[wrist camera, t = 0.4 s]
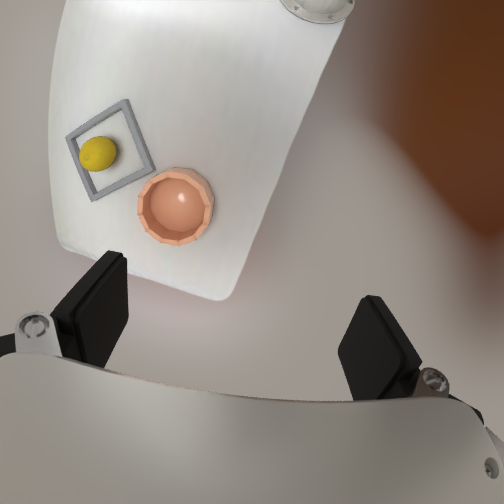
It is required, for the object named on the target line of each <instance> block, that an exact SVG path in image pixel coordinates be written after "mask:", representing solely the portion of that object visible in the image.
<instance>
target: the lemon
mask: <svg viewBox="0 0 504 504" xmlns="http://www.w3.org/2000/svg"><path fill="white" fill-rule="evenodd" d="M115 156H116V147H115V145H114V143H113V142H112V141H111V140H110V139H109V138H106V137H102V136H98V137H94V138H91V139H89V140H88V141H87V142H85V143H84V144H83V146H82V147H81V150H80V153H79V160H80V163H81V165H82V166H83V167H84V168H85V169H86V170H88V171H92V172H98V171H102V170H104V169H106V168H108V167H109V166H110V165H111V164H112V163H113V161H114V159H115Z"/></svg>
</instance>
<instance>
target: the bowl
mask: <svg viewBox="0 0 504 504" xmlns="http://www.w3.org/2000/svg"><path fill="white" fill-rule="evenodd" d="M213 205H214V196H213V193H212V191H211V189H210V186H209V184H208V181H207V180H205V179H204V178H203V177H202V176H200V175H199V174H198V173H196V172H195V171H194V170H192V169H185V168H177V167H174V168H171V169H169V170H167V171H165V172H162V173H160V174H158V175H156V176H154V177H153V178H151V179H149V180H148V182H147V183H146V185H145V186H144V188H143V189H142V191H141V192H140V194H139V195H138V213H137V215H138V217H139V219H140V221H141V223H142V225H143V227H144V229H145V231H146V232H147V233H148V234H150V235H151V236H152V237H154V238H155V239H156V240H158V241H159V242H160V243H165V244H171V245H177V246H180V245H183V244H186V243H189V242H191V241H194V240H197V238H198V237H199V236H200V235H201V233H202V232H203V231H204V230H205V229H206V227H207V226H208V225H209V222H210V219H211V217H212V211H213Z"/></svg>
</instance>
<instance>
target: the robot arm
mask: <svg viewBox="0 0 504 504" xmlns="http://www.w3.org/2000/svg"><path fill="white" fill-rule="evenodd" d="M281 2H282V3H283V4H284V6H285V7H286V8H287V9H288V10H289V11H291V12H292V13H293V14H295V15H296V16H298V17H300V18H302V19H305V20H308V21H311V22H315V23H324V24H328V23H335V22H339V21H341V20H343V19H345V18H346V17H347V16H348V15H349V14H350V13H351V12H352V10H353V8H354V5H355V0H281ZM294 9H296V10H294ZM329 18H330V19H331V20H330V19H329ZM127 289H128V288H127V258H125V257H123V254H122V253H119V252H115V251H110V250H108V251H107V252H106V253H105V254H104V255H103V256H102V257H101V258H100V259H99V260H98V261H97V262H96V263H95V264H94V265H93V266H92V267H91V269H89V271H88V272H87V273H86V274H85V275H84V276H83V277H82V278H81V279H80V280H79V281H78V282H77V283H76V285H75V286H74V287H73V288H72V289H71V290H70V291H69V292H68V293H67V295H66V296H65V297H64V298H63V299H62V300H61V302H60V303H59V304H58V305H57V306H56V307H55V309H54V310H53V312H52V313H51V314H50V315H48V314H46V313H44V312H30V313H27V314H25V315H23V316H22V317H21V318H20V319H19V320H18V321H17V323H16V325H15V333H13V334H9V335H5V336H1V337H0V504H504V442H502V441H501V440H500V439H499V438H498V437H497V436H496V435H495V434H494V433H493V432H492V431H491V430H490V429H489V428H488V427H484V422H483V418H482V415H481V413H480V412H479V411H478V410H477V409H475V408H473V407H471V406H469V405H468V404H466V403H464V402H462V401H461V400H459V399H457V398H455V397H454V396H452V395H450V394H449V388H450V387H449V382H448V380H447V378H446V377H445V375H444V374H442V373H441V372H440V371H438V370H437V369H434V368H430V367H426V368H423V369H422V370H421V371H420V369H419V366H420V365H421V363H422V360H421V358H420V357H419V355H418V354H417V352H416V350H415V349H414V347H413V345H412V344H411V342H410V341H409V339H408V337H407V336H406V335H405V333H404V331H403V330H402V328H401V327H400V325H399V324H398V322H397V320H396V319H395V317H394V316H393V314H392V313H391V311H390V310H389V309H388V307H387V306H386V304H385V303H384V301H383V300H382V298H381V297H379V296H371V295H367V296H366V297H365V298H362V299H361V301H360V303H359V305H358V307H357V309H356V312H355V314H354V316H353V318H352V320H351V322H350V324H349V327H348V329H347V331H346V333H345V335H344V337H343V339H342V341H341V343H340V345H339V348H338V356H339V358H340V361H341V364H342V367H343V370H344V373H345V376H346V379H347V382H348V385H349V388H350V391H351V394H352V397H353V400H354V401H305V400H283V399H268V398H258V397H248V396H247V397H246V396H239V395H230V394H222V393H215V392H209V391H202V390H196V389H190V388H184V387H180V386H174V385H169V384H164V383H160V382H155V381H151V380H147V379H142V378H138V377H134V376H130V375H126V374H122V373H119V372H115V371H111V370H108V369H104V367H105V365H106V363H107V361H108V359H109V357H110V355H111V353H112V351H113V349H114V347H115V345H116V343H117V341H118V339H119V337H120V335H121V333H122V331H123V329H124V327H125V326H126V324H127V321H128V316H129V313H128V290H127Z"/></svg>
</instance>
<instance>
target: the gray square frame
mask: <svg viewBox="0 0 504 504" xmlns="http://www.w3.org/2000/svg"><path fill="white" fill-rule="evenodd" d="M121 109H122V111H123V114H124V116H125V119H126V121H127V124H128V127H129V129H130V132H131V134H132V137H133V139H134V142H135V144H136V147H137V149H138V152H139V154H140V157H141V159H142V161H143V164H144V166H145V168H144V169H142V170H140V171H138V172H136V173H134V174H132V175H130V176H128V177H126V178H124V179H122V180H120V181H118V182H116V183H114V184H112V185H111V186H109V187H107V188H105V189H103V190H101V191H100V192H98V193H97V191H96V189H95V187H94V184H93V182H92V180H91V177H90V175H89V173H88V170H86V169H85V168H84V167H83V166H82V165H81V163H80V160H79V153H80V150H79V147H78V145H77V142H76V139H75V138H77V137H78V136H80V135H81V134H82V133H84V132H85V131H87V130H88V129H90V128H92V127H93V126H95V125H96V124H98V123H99V122H101V121H103V120H104V119H106V118H108V117H109V116H111V115H113V114H114V113H116V112H118V111H119V110H121ZM65 139H66V141H67V144H68V147H69V150H70V152H71V155H72V157H73V160H74V163H75V165H76V168H77V170H78V173H79V175H80V177H81V180H82V182H83V184H84V187H85V189H86V191H87V194H88V196H89V198H90V200H91V202H93V201H95V200H97V199H99V198H100V197H102V196H104V195H106V194H108V193H110V192H112V191H114V190H115V189H117V188H119V187H121V186H123V185H125V184H127V183H129V182H131V181H133V180H135V179H137V178H139V177H141V176H143V175H145V174H148V173H150V172H152V171H154V170H156V169H155V166H154V164H153V161H152V159H151V157H150V154H149V152H148V149H147V147H146V144H145V142H144V139H143V137H142V134H141V132H140V129H139V127H138V124H137V122H136V119H135V116H134V114H133V111H132V109H131V106H130V103H129V100H128V99H123V100H121V101H120V102H118V103H116V104H115V105H113V106H111V107H110V108H108V109H106V110H105V111H103V112H101V113H100V114H98V115H97V116H95V117H94V118H92V119H90V120H89V121H87V122H86V123H84V124H83V125H81V126H80V127H79V128H77V129H76V130H74V131H73V132H71V133H70V134H69V135H67V136H66V137H65Z"/></svg>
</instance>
